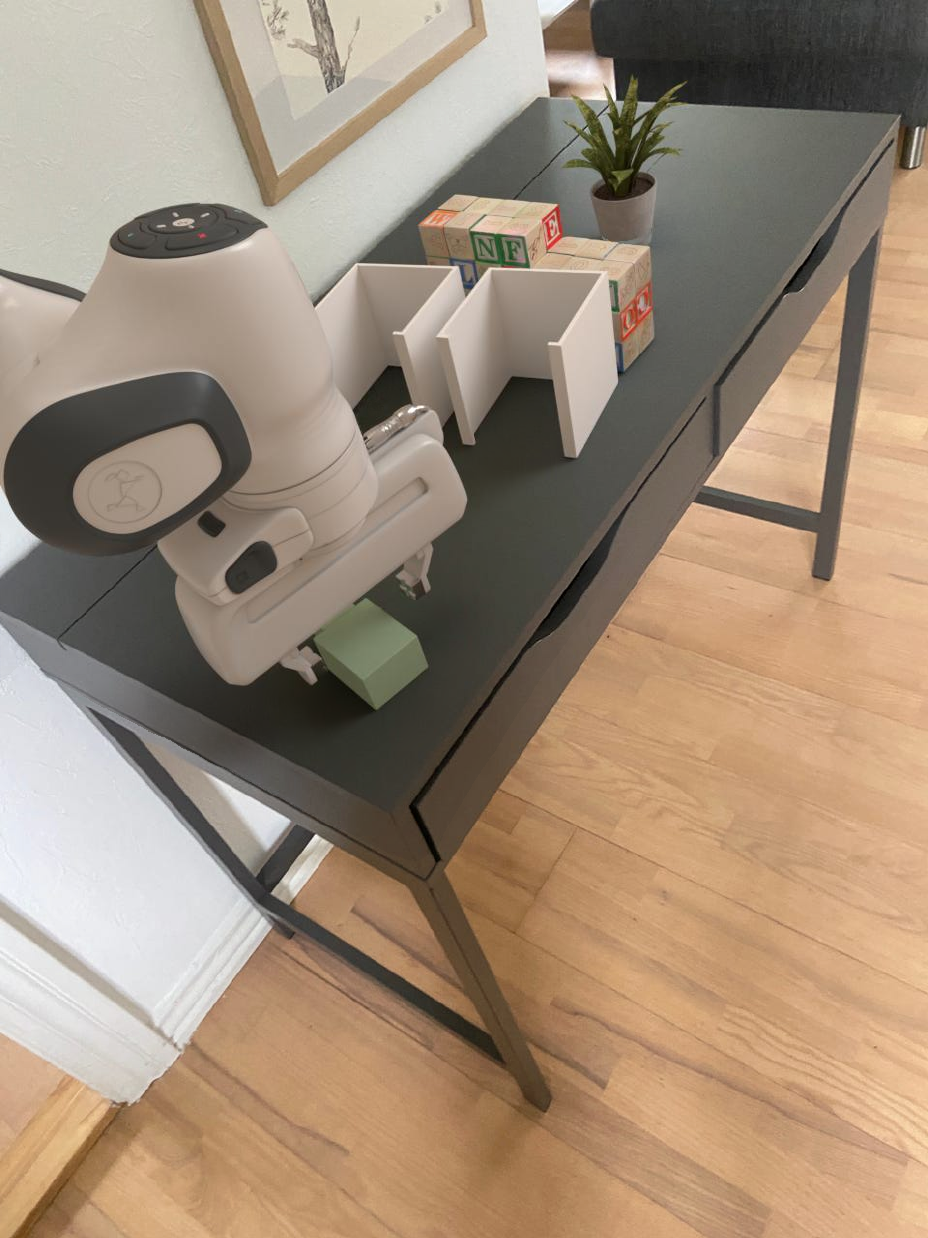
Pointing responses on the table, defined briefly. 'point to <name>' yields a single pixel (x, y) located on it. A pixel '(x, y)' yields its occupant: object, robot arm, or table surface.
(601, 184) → the house plant
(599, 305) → the open dividers
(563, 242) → the stack of blocks
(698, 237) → the table surface
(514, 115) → the table surface
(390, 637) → the sage block
